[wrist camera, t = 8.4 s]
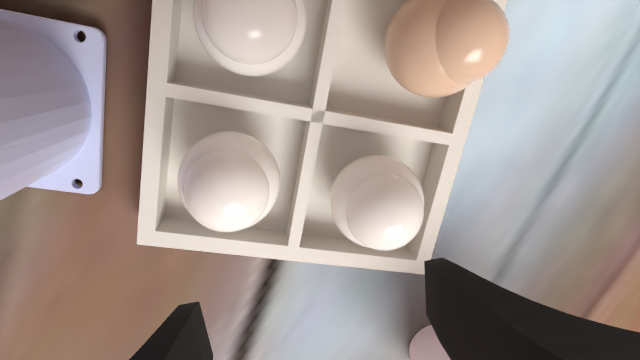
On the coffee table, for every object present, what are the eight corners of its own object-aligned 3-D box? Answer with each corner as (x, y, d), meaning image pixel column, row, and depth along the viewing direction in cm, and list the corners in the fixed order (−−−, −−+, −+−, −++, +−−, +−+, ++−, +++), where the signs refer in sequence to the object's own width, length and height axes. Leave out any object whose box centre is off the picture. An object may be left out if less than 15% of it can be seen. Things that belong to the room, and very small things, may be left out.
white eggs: (184, 203, 20) (156, 251, 15) (208, -43, 17) (183, -86, 12) (394, 229, 22) (431, 280, 17) (450, 14, 19) (516, -2, 14)
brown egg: (391, 118, 19) (489, 117, 15) (347, 35, 17) (446, 5, 13) (441, 66, 21) (544, 52, 17) (407, -15, 19) (514, -57, 14)
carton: (149, 225, 21) (136, 244, 19) (173, -94, 17) (159, -116, 15) (412, 255, 24) (426, 274, 22) (487, -14, 20) (513, -23, 17)
